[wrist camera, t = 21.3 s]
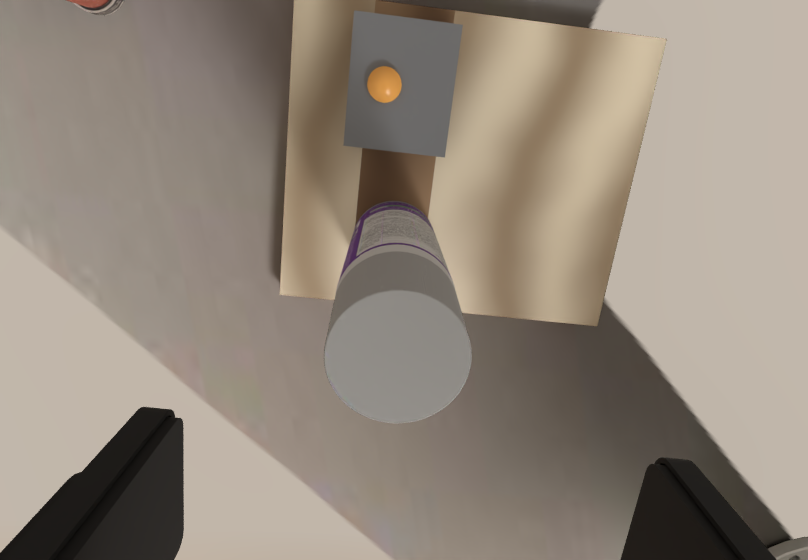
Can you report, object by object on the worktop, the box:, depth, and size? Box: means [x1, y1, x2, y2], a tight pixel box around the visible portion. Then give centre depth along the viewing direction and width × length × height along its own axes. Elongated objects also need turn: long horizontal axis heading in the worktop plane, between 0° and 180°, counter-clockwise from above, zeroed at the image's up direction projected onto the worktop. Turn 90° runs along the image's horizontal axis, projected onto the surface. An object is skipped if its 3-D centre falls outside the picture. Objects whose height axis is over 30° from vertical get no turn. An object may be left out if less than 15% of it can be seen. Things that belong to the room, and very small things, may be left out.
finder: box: [343, 10, 463, 158], centre depth 26 cm, size 5×6×3 cm
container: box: [324, 201, 472, 423], centre depth 23 cm, size 5×5×15 cm
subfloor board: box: [280, 0, 667, 326], centre depth 30 cm, size 19×16×1 cm
